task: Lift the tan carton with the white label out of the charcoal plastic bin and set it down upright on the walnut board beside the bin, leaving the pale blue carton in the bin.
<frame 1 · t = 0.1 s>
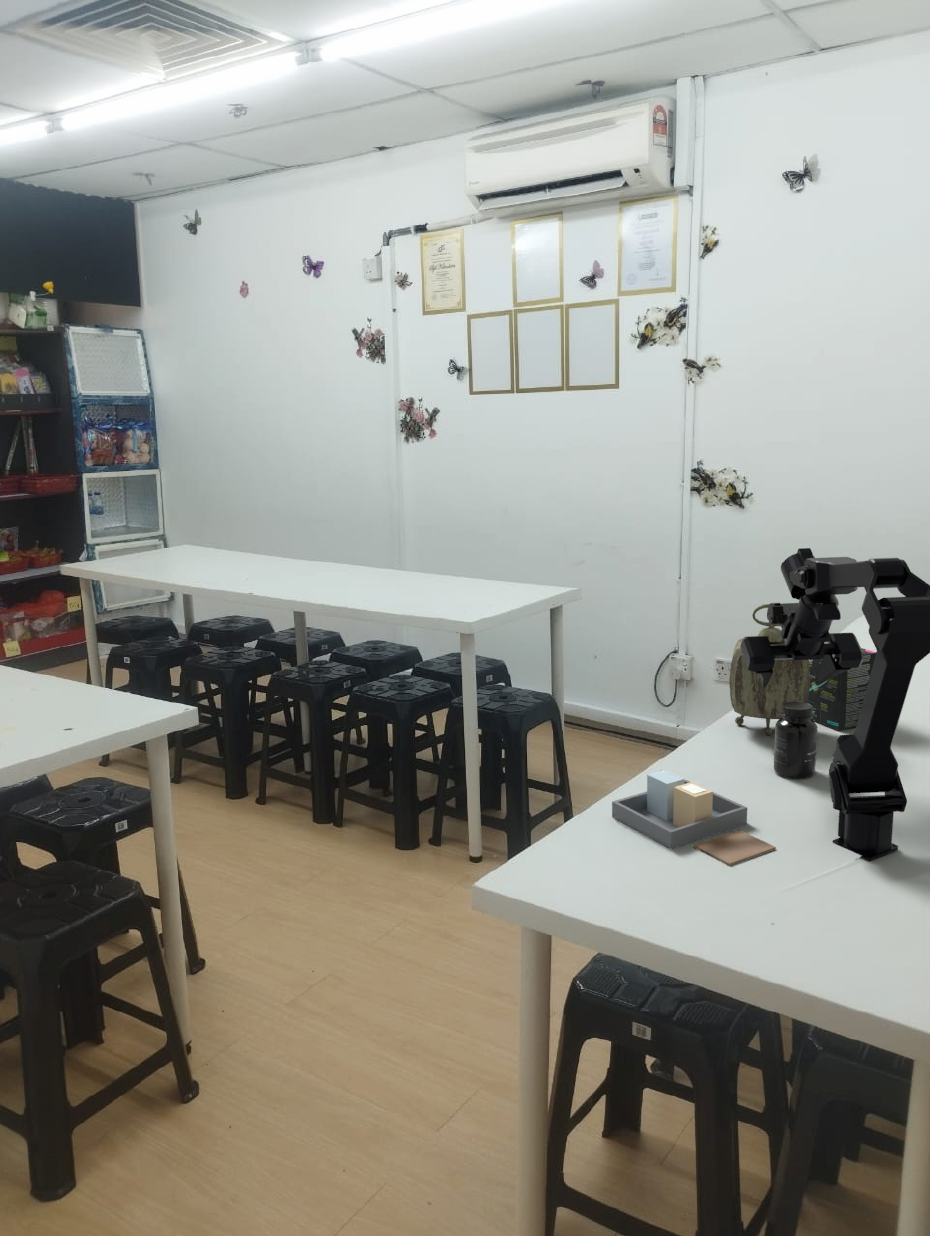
hand: (789, 684, 166), 15 cm above the table, tool tilted 35°, fingers open, 9 cm apart
tampon box: (836, 721, 192), on the table
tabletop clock: (767, 732, 187), on the table
supplement bottle: (794, 773, 166), on the table
carton blue: (665, 812, 151), resting on bin
board: (734, 851, 139), on the table
bin: (678, 822, 148), on the table
carton tan: (692, 826, 146), resting on bin
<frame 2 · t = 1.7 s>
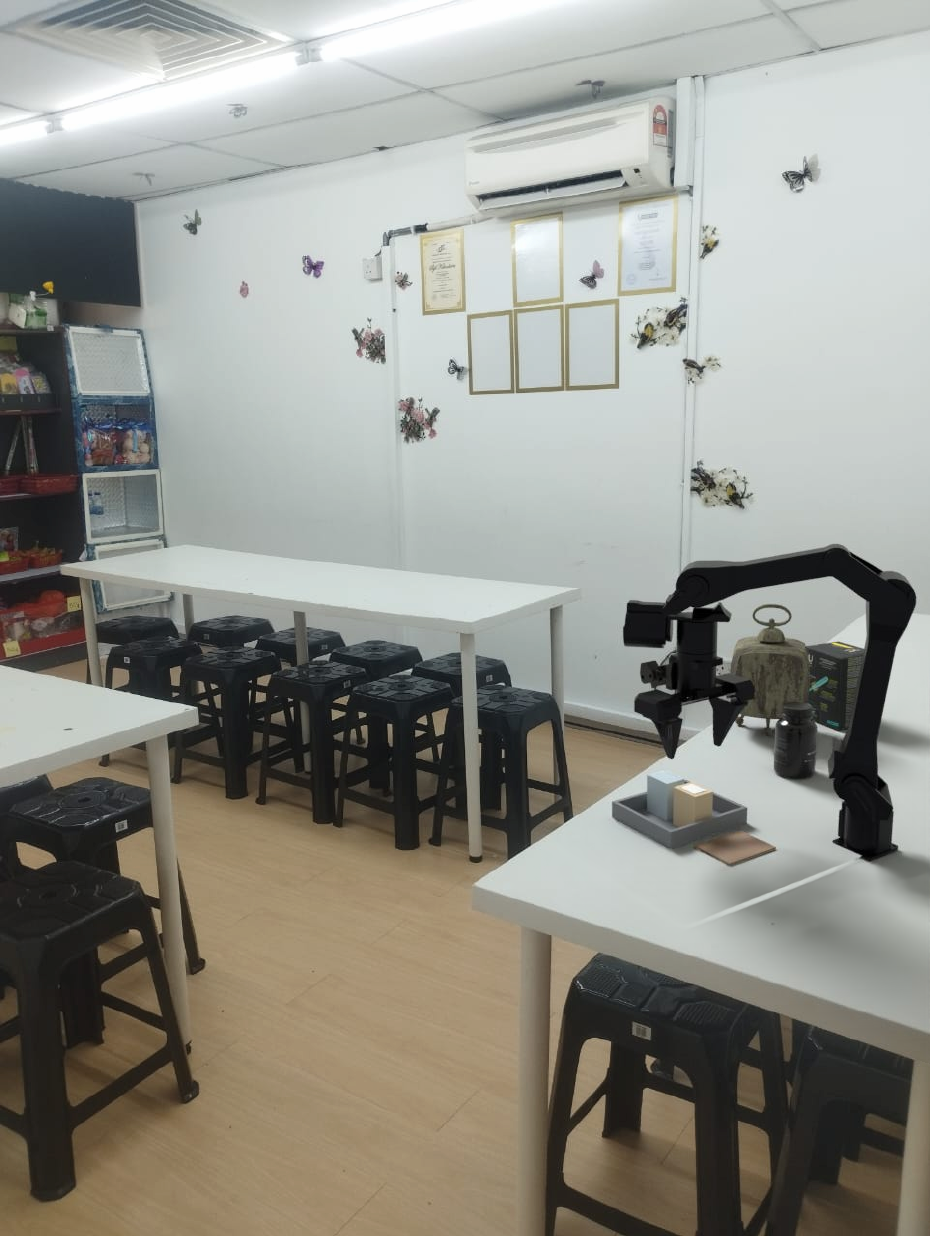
hand: (694, 751, 143), 12 cm above the table, tool pointing down, fingers open, 9 cm apart
nothing on the table moved.
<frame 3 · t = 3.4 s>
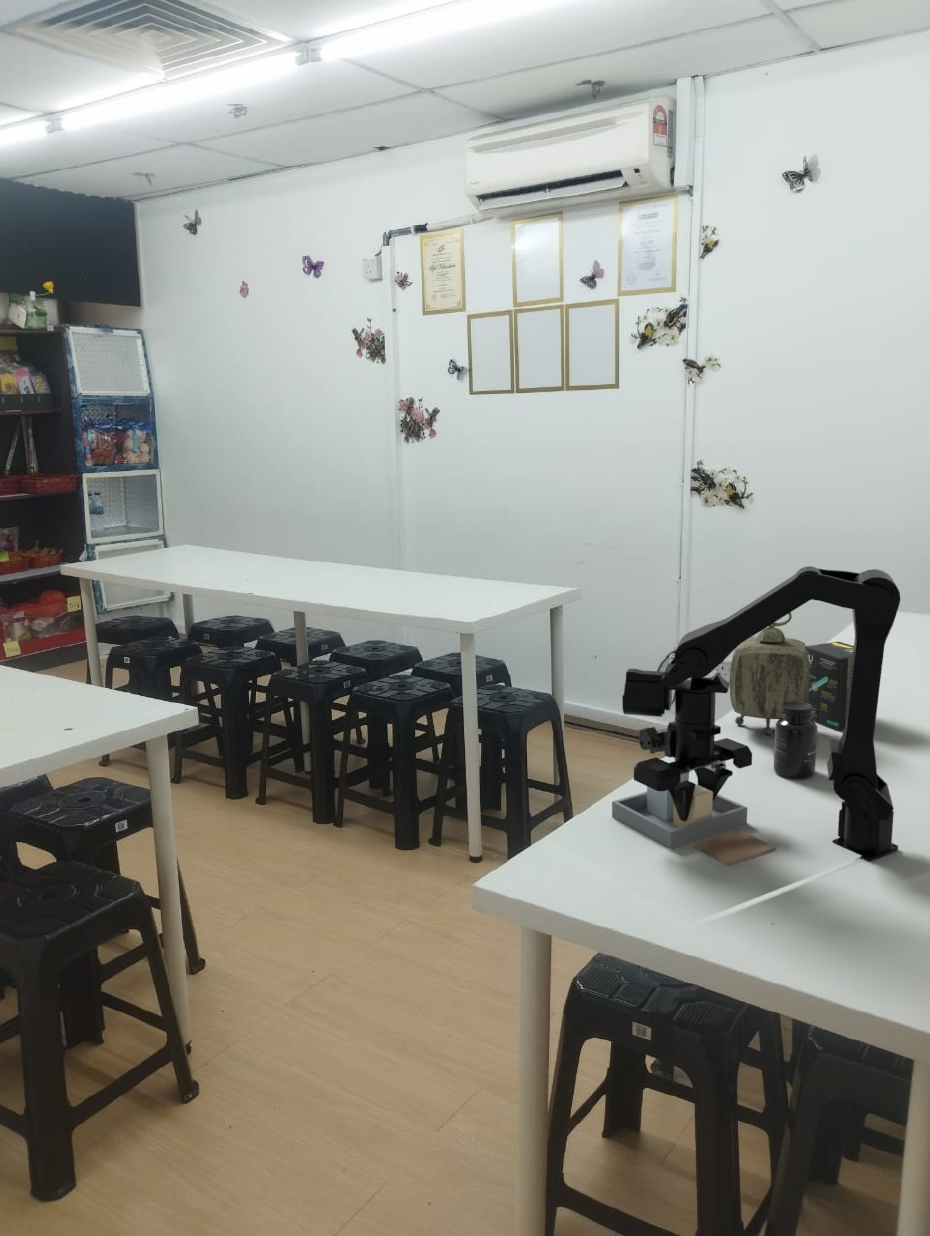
hand: (692, 817, 145), 2 cm above the table, tool pointing down, fingers closed on carton tan, 3 cm apart
carton tan: (692, 826, 146), point 1 cm above the table, touching bin, gripper
everything else where it was.
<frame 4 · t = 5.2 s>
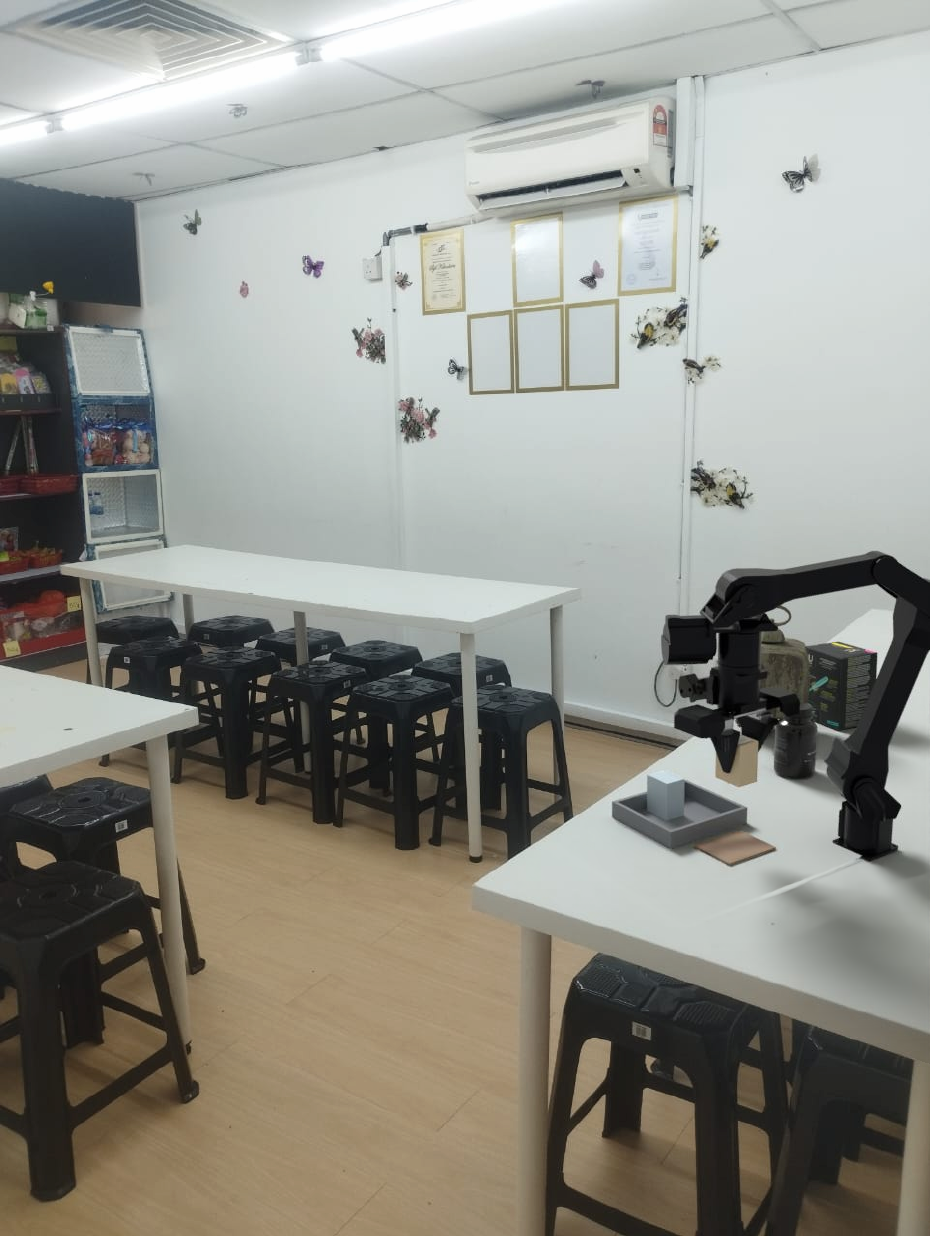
hand: (736, 769, 136), 12 cm above the table, tool pointing down, fingers closed on carton tan, 3 cm apart
carton tan: (736, 779, 136), point 11 cm above the table, touching gripper
everything else where it was.
when the fingers open (3 cm above the table, at t = 7.1 s): carton tan stays where it is, resting on board.
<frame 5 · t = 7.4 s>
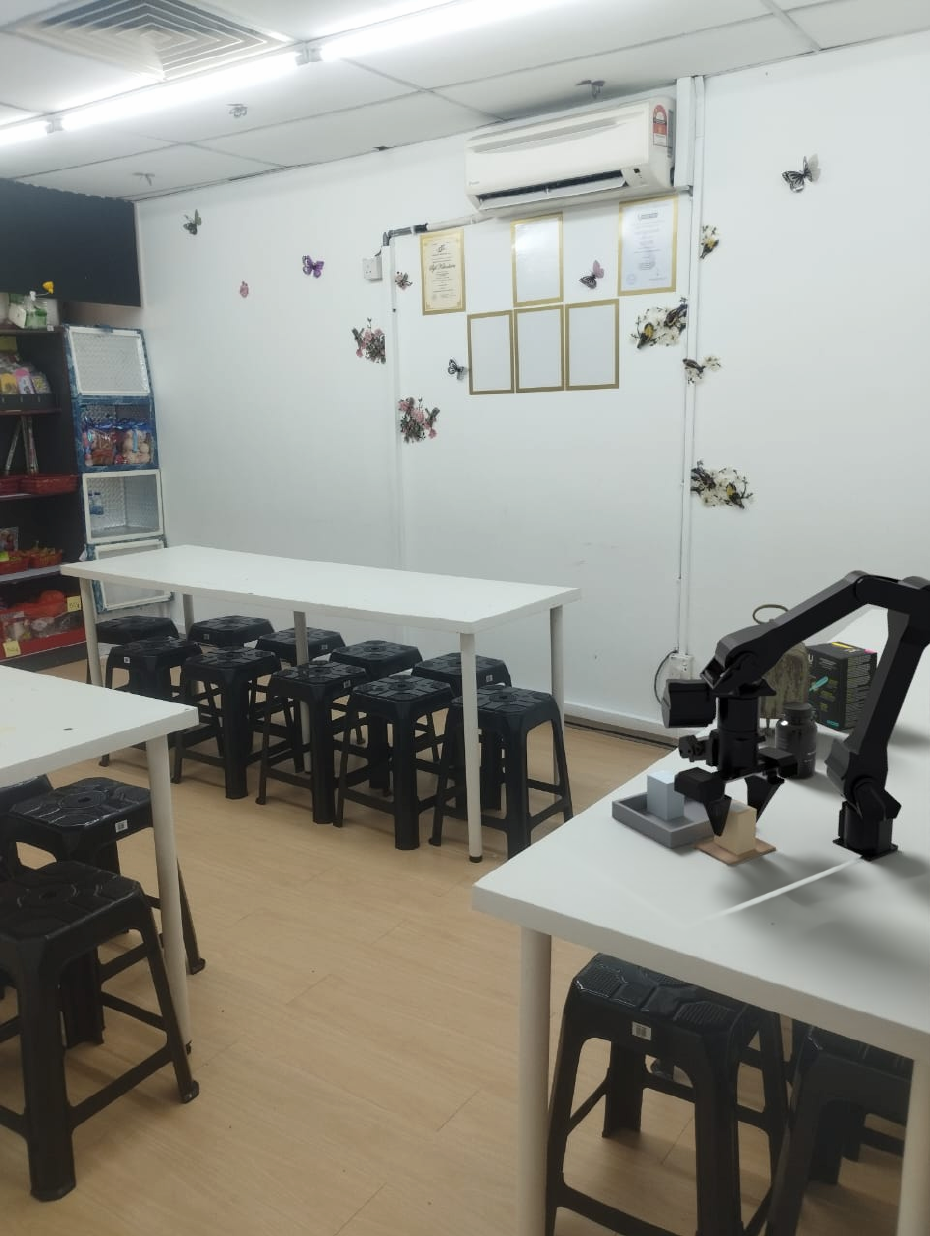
hand: (735, 829, 138), 3 cm above the table, tool pointing down, fingers open, 6 cm apart
carton tan: (734, 845, 138), point 1 cm above the table, touching board
everything else where it was.
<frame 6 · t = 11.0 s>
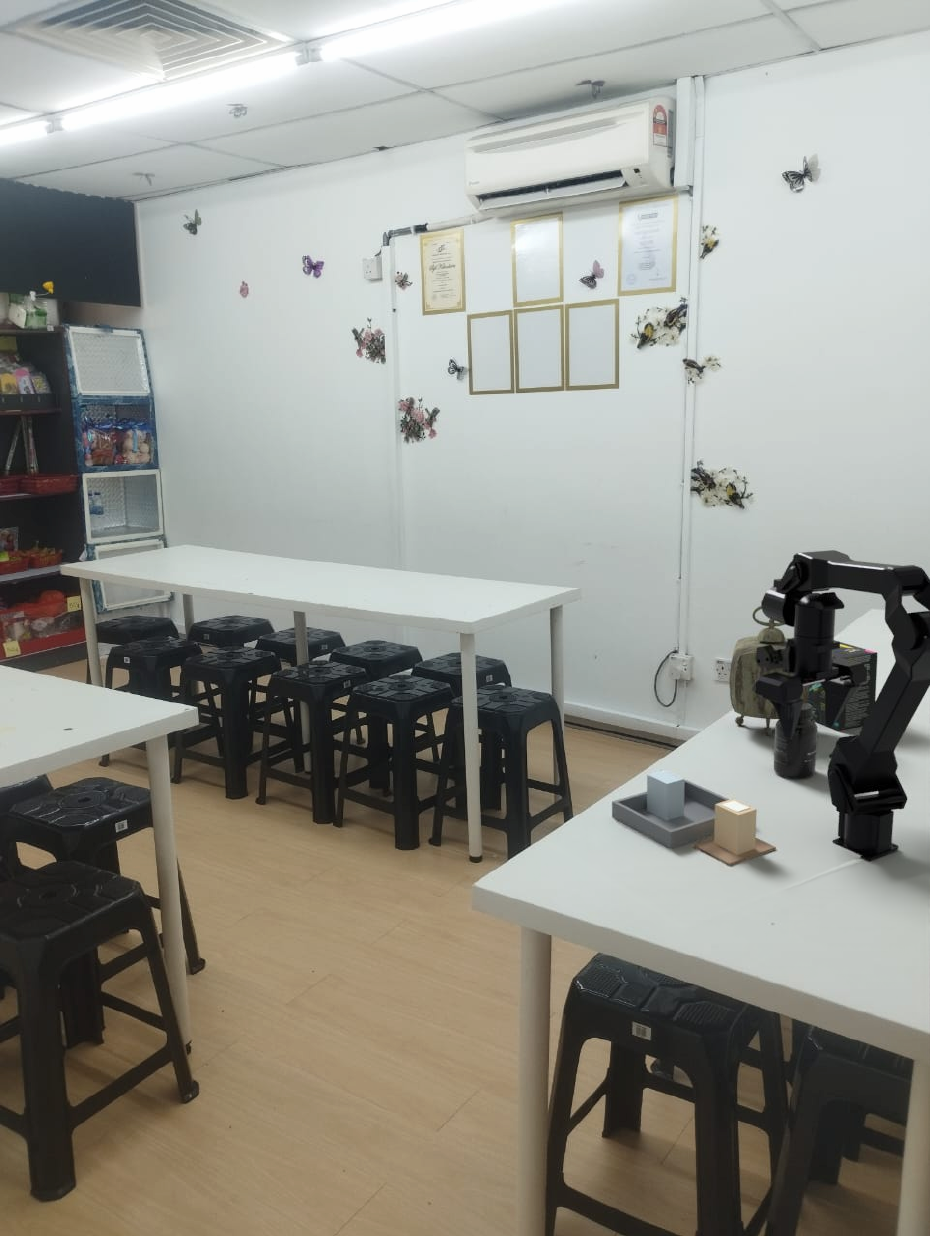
hand: (809, 732, 149), 12 cm above the table, tool pointing down, fingers open, 9 cm apart
nothing on the table moved.
at the end: carton tan inside the target area on the board (0.0 cm from its centre), point 0.8 cm above the board's base; carton tan tilted 0°; the gripper is holding nothing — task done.
